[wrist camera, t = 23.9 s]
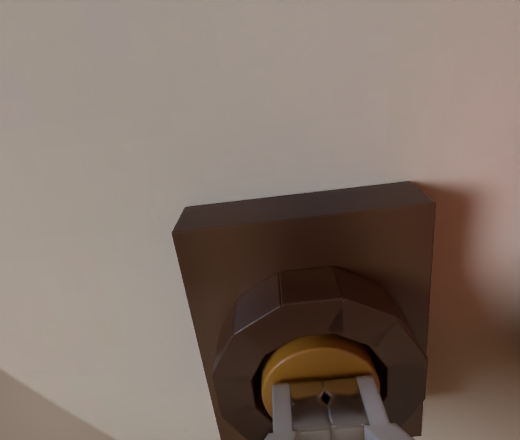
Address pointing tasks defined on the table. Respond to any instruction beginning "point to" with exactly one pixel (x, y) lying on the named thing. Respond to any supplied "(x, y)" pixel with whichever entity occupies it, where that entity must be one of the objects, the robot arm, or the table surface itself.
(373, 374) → the button
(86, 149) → the table surface
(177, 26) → the table surface
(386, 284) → the button block
